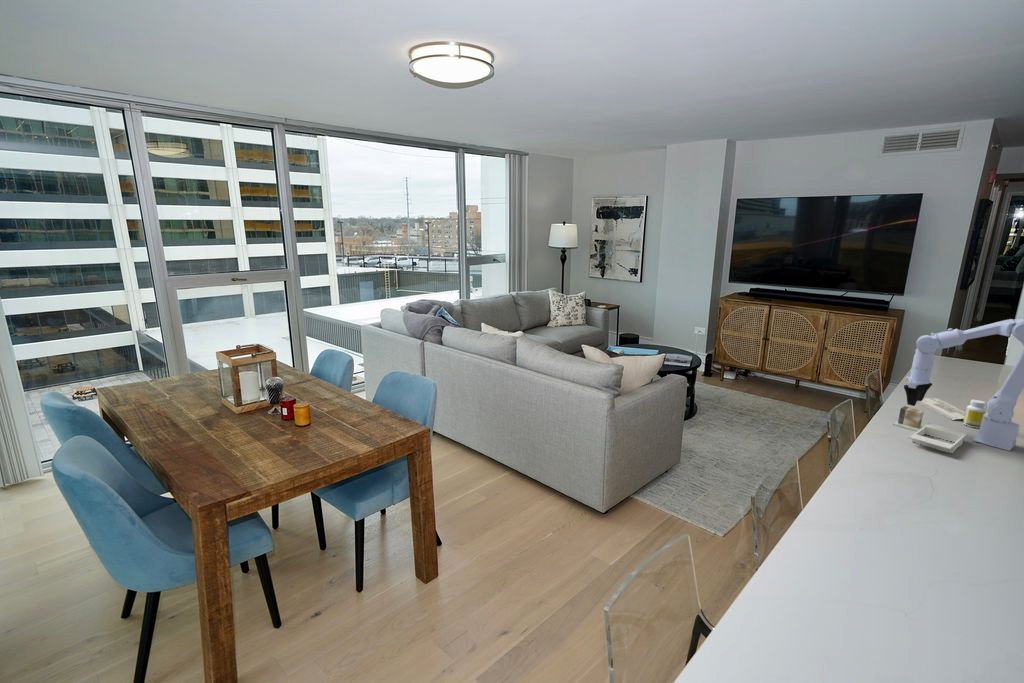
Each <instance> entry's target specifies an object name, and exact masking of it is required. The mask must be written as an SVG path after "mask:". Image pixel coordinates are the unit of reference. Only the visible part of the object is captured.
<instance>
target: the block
mask: <svg viewBox="0 0 1024 683" xmlns="http://www.w3.org/2000/svg"><path fill="white" fill-rule="evenodd" d="M924 412H925V411H924V410H922V409H918V408H914V407H909V406H905V405H904V406H902V407H900V410H899V415H898V420H897V421H898V423H899V424H902V425H906V426H910V427H913V428H918V427H920V426H921V425H922V421H923V416H924Z"/></svg>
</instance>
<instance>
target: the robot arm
mask: <svg viewBox="0 0 1024 683" xmlns="http://www.w3.org/2000/svg"><path fill="white" fill-rule="evenodd" d="M1011 334H1012V336H1013V337H1014V338H1015V339H1017V340H1018V341H1019V342H1020V343H1021V344H1022V346H1023V347H1024V317H1017V318H1015V319H1013V318H1009V319H1003V320H1000V321H996V322H993V323H989V324H984V325H980V326H976V327H973V328H969V329H966V330H962V329H958V328H955V329H953V327H950V328H948V329H947V330H946V331H940V332H937V333H935V332H931V333H930V335H929V334H924V335H921V336H919V337H918V338H917V340H916V341H915V343H916V349H915V353H914V355H913V359H912V360H913V361H912V365H911V370H910V376H909V375H907V376H905V379H906V380H908V384H904V386H903V388H904V391H905V395H906V404H907V405H909V406H911V407H912V406H913V407H915V406H916V404H917V401H922V400H923V399H924V398H925V396H926V394H927V393H928V390H929V389H930V388H932V386H933V383H931V380H930V379H931V377H932V376H931V375H932V370H933V364H934V361H935V352H936V350H938V349H939V350H943V349H949V348H953V347H957V346H960V345H964V344H965V342H966V341H967V340H973V339H977V338H978V339H979V338H982V337H988V336H994V335H1000V336H1005V337H1008V338H1009V337H1011V336H1010V335H1011ZM1023 390H1024V350H1023V352H1022V353H1021V355H1020V356H1019V358H1018V359H1017V361H1016V363H1015V365H1014V366H1013V368H1012V369H1011V371H1010V373H1009V374H1008V376H1007V378H1006V379H1005V381H1004V383H1003V384H1002V386H1001V387H1000V389H999V390H997V392H996V393H995V395H994V396H992V397H991V398H989V399H988V400H986V402H985V409H986V413H985V414H983V418H982V422H981V426H980V428H979V431H978V434H977V436H976V437H974V439H973V440H972V441H973V442H975V443H980V444H982V445H987V446H991V447H994V448H997V449H1002V450H1005V451H1011V450H1012V449H1013V448H1014V447H1015V446H1016V443H1017V438H1018V433H1019V431H1020V426H1021V425H1020V424H1019V423H1016V422H1013V421H1012V420H1013V417H1014V414H1015V411H1014V409H1015V408H1016V405H1017V402H1018V398H1019V397H1020V395H1021V393H1022V392H1023Z"/></svg>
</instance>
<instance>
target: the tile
mask: <svg viewBox="0 0 1024 683" xmlns="http://www.w3.org/2000/svg"><path fill="white" fill-rule="evenodd" d="M892 425H893V426H895V427H896V426H897V427H900V428H903V429H907V430H911V431H914V432H917V431H919V430H920V429H921V428H923V427H924V426H925V425H923V424H921V426H920V427H918V428H913V427H910V426H906V425H902V424H899V423H898V420H896V421H894V422H893V423H892Z"/></svg>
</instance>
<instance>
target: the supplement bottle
mask: <svg viewBox="0 0 1024 683" xmlns="http://www.w3.org/2000/svg"><path fill="white" fill-rule="evenodd" d="M965 411H966V412H965V417H964V419H963V421H962V424H963V425H964V424H965V426H966V425H967V426H966V427H969V426H970V427H969V428H972V427H976V428H975V429H980V426H981V422H982V418H983V414H985V413H987V408H986V402H985V401H982V400H979V399H971V400H970V404H969V405H967V406H966V409H965Z"/></svg>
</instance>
